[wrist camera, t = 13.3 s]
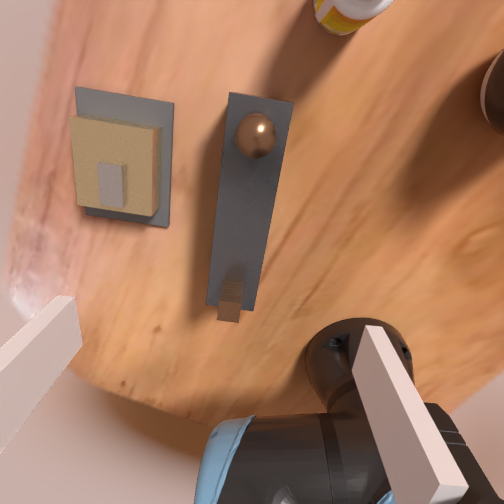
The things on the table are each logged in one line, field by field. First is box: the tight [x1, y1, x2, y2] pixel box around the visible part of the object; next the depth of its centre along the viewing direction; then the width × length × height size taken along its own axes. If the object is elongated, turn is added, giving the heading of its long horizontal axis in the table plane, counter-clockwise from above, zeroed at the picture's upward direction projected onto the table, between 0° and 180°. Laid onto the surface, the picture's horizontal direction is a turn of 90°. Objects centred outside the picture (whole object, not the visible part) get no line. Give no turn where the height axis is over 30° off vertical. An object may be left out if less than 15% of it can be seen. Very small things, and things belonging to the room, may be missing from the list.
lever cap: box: [69, 114, 163, 216], centre depth 34 cm, size 9×8×4 cm
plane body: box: [206, 92, 294, 323], centre depth 33 cm, size 22×6×11 cm, turn 171°
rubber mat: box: [75, 87, 174, 227], centre depth 36 cm, size 14×10×1 cm
